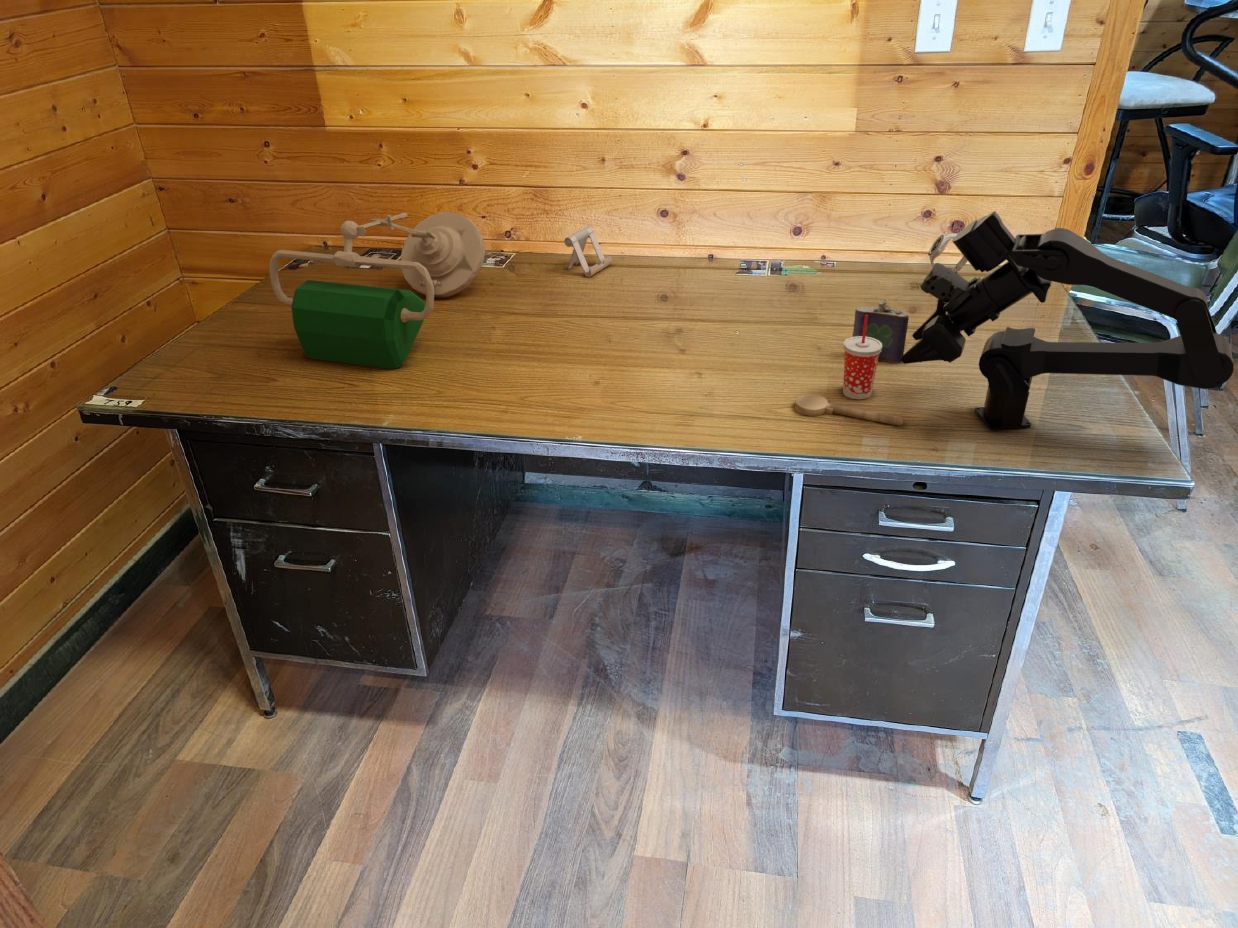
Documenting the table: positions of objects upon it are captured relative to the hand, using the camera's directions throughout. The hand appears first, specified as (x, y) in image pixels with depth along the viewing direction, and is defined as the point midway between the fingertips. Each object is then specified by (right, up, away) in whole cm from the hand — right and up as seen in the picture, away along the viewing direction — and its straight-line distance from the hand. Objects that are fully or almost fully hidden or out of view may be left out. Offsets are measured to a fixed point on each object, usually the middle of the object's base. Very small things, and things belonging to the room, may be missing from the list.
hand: (908, 349), depth 143 cm
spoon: (-10, -10, +2) cm, 14 cm away
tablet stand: (-53, +26, +61) cm, 85 cm away
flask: (0, +1, +19) cm, 19 cm away
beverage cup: (-6, -7, +8) cm, 12 cm away
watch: (+22, +19, +45) cm, 53 cm away
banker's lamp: (-89, +12, +42) cm, 99 cm away
